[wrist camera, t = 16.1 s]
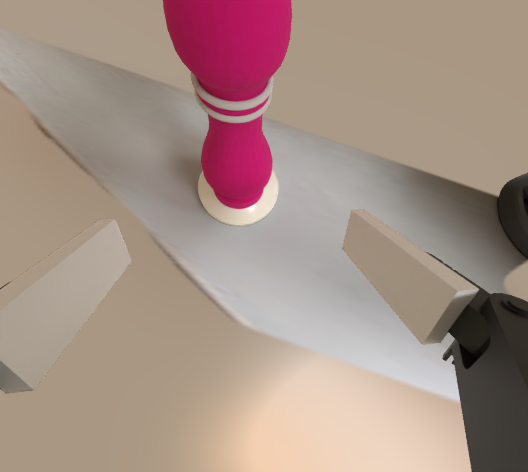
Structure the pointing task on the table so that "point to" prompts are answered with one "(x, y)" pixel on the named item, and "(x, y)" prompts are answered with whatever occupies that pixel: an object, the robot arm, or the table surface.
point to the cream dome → (238, 215)
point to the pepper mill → (232, 84)
